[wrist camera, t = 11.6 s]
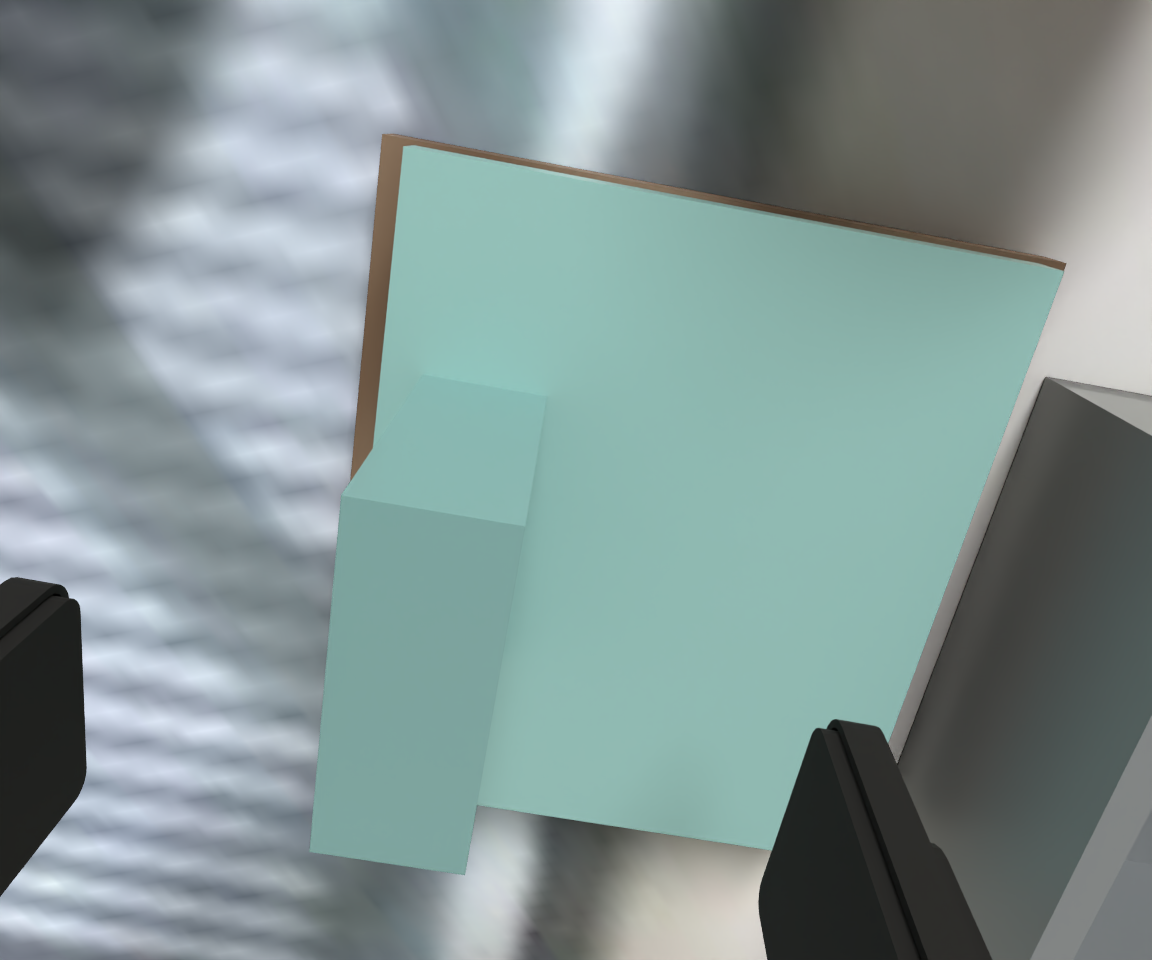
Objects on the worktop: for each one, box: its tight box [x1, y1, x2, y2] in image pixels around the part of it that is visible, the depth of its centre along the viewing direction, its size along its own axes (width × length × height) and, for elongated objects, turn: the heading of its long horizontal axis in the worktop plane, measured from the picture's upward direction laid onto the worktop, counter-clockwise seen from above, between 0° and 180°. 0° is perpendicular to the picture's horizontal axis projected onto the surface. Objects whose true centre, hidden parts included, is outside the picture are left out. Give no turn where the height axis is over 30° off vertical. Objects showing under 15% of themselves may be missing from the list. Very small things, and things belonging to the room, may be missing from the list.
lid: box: [309, 145, 1064, 875], centre depth 17 cm, size 12×14×8 cm
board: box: [350, 134, 1067, 482], centre depth 21 cm, size 14×14×1 cm
